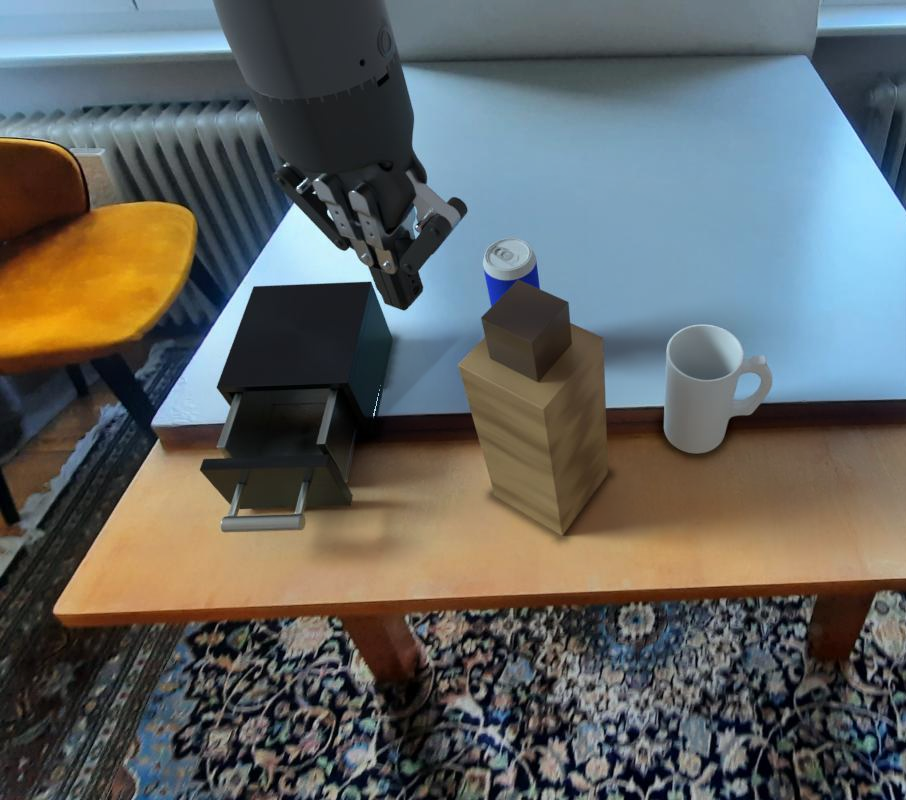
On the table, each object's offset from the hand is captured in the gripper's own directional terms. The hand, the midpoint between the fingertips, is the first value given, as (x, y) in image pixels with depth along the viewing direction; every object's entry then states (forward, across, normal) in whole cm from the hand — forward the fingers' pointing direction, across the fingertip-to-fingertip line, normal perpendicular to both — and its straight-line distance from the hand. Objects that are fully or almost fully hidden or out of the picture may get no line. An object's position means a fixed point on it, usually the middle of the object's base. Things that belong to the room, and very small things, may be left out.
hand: (404, 299), depth 50 cm
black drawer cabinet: (+27, -22, +4) cm, 35 cm away
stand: (+27, +6, +4) cm, 28 cm away
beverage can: (+27, -4, +18) cm, 33 cm away
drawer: (+26, -16, -6) cm, 31 cm away
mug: (+27, +18, +17) cm, 37 cm away
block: (+7, +6, +4) cm, 11 cm away
